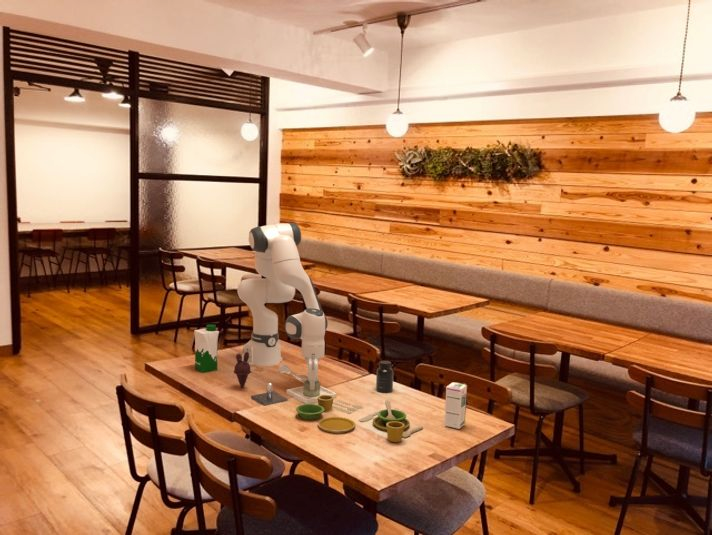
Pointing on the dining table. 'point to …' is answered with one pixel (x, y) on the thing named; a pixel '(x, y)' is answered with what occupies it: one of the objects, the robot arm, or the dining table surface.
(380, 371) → the supplement bottle
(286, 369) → the stirrer
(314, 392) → the napkin ring
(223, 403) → the dining table surface
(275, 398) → the stand
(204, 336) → the milk carton
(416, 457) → the dining table surface
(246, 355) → the icecream
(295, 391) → the tray
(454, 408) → the syrup box
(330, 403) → the tableware set
